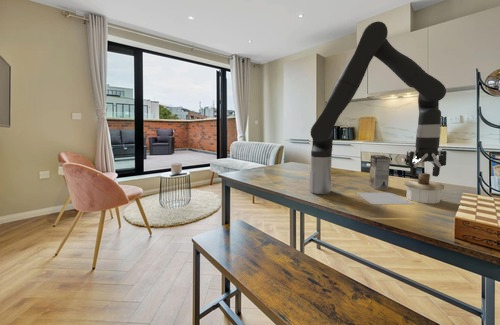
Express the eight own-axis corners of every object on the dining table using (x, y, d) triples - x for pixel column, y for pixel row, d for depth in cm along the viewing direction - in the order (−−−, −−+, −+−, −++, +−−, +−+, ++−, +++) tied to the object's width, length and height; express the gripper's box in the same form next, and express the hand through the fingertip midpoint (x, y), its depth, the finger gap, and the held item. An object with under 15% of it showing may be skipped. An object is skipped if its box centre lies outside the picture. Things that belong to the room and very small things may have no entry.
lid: (417, 190, 89) (418, 177, 88) (397, 182, 101) (398, 171, 101) (452, 190, 88) (454, 177, 87) (428, 182, 101) (429, 170, 100)
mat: (372, 205, 91) (372, 204, 91) (355, 193, 107) (355, 192, 107) (414, 205, 90) (414, 203, 90) (391, 193, 106) (391, 192, 106)
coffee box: (368, 185, 121) (370, 155, 119) (381, 185, 120) (383, 155, 117) (374, 190, 112) (376, 157, 110) (388, 190, 111) (390, 157, 108)
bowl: (417, 204, 91) (418, 189, 90) (400, 196, 101) (401, 183, 101) (446, 204, 90) (448, 189, 89) (426, 196, 101) (427, 182, 100)
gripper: (415, 137, 88) (412, 178, 91) (454, 136, 88) (450, 178, 90) (403, 136, 96) (400, 174, 98) (439, 135, 95) (435, 174, 98)
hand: (424, 176), depth 94 cm, fingers open, 8 cm apart
